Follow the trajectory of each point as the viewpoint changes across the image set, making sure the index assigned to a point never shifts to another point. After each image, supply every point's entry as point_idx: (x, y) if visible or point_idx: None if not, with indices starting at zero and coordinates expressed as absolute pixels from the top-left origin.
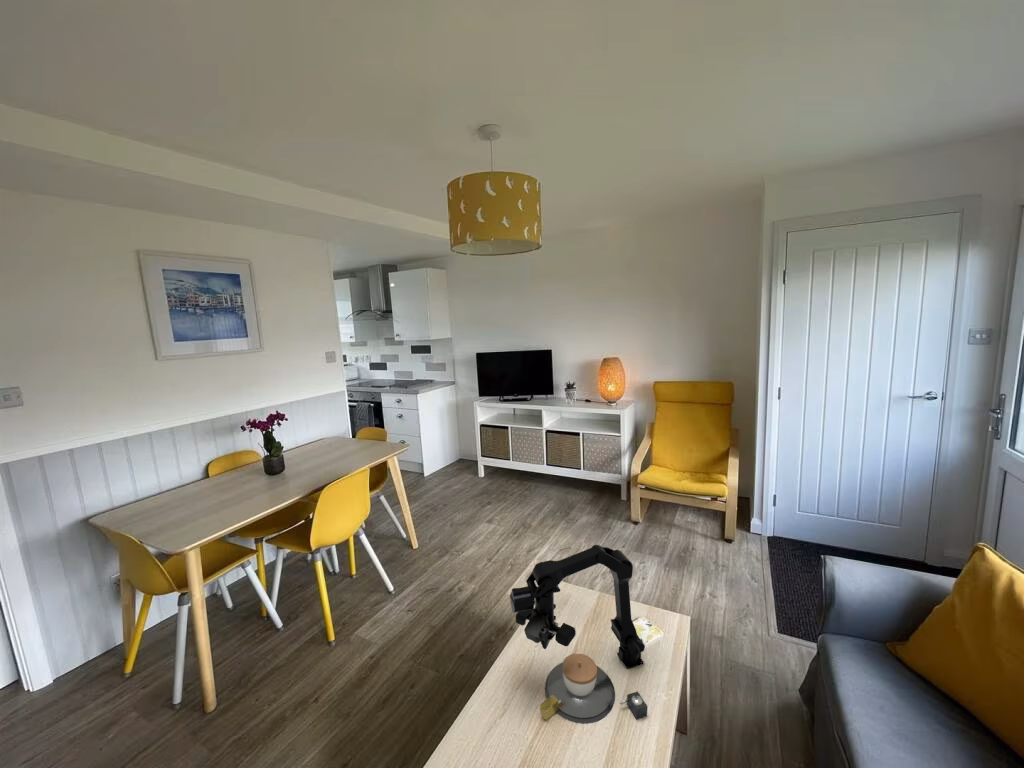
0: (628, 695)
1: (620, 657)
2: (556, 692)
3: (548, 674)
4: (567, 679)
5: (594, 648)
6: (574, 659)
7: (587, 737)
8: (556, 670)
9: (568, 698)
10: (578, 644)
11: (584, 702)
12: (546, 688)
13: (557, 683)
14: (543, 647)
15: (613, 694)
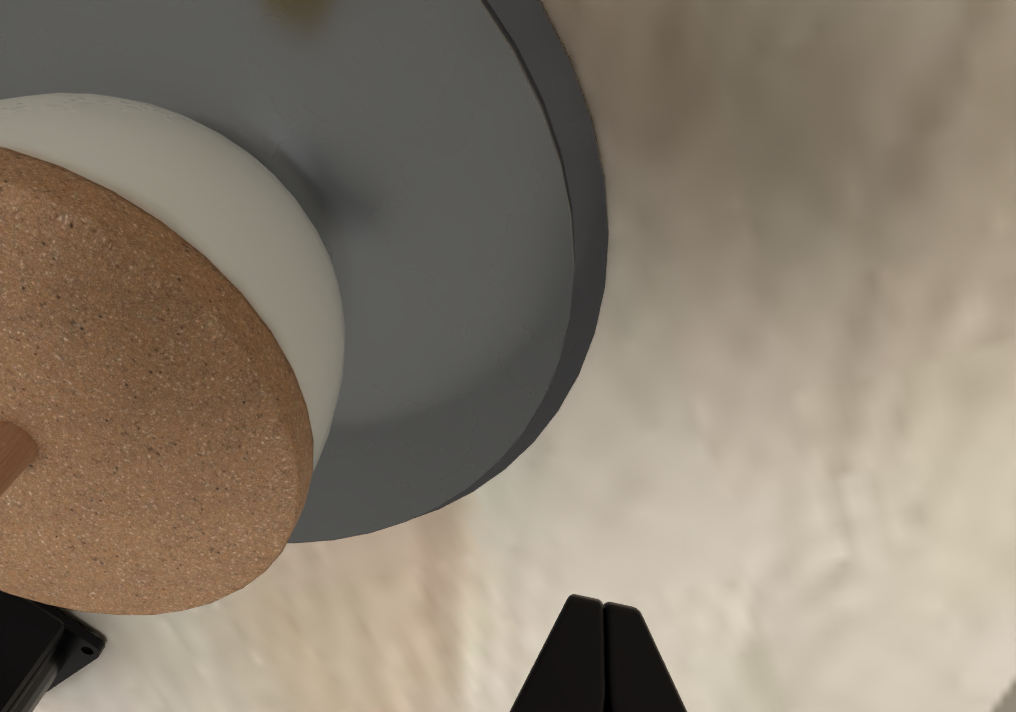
0: None
1: (17, 629)
2: (389, 68)
3: (600, 304)
4: (100, 175)
5: (292, 652)
6: (149, 524)
7: None
8: (509, 367)
9: (206, 40)
10: (433, 659)
11: (8, 62)
12: (562, 109)
13: (429, 204)
14: (624, 634)
15: None
